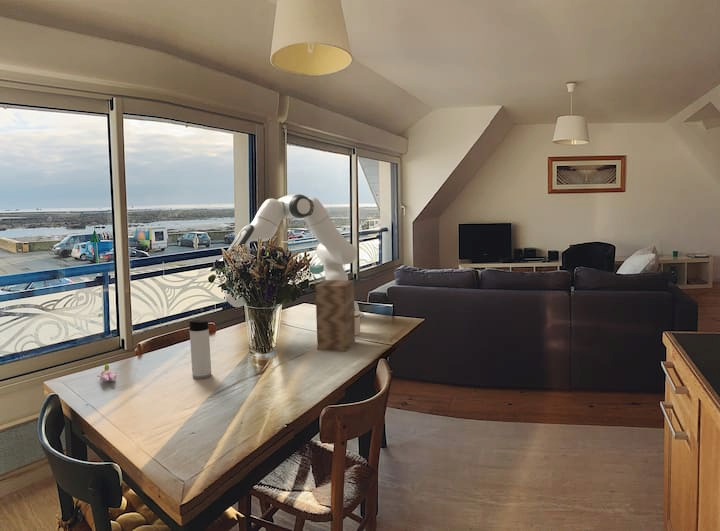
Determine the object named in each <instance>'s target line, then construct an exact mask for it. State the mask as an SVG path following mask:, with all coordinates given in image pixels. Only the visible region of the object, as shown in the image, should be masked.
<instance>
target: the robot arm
mask: <svg viewBox="0 0 720 531" xmlns="http://www.w3.org/2000/svg"><path fill="white" fill-rule="evenodd" d="M254 216H255V217H254V218H253V220H252V221H251V222H250V223H249V224H247V225H245V226H243V227H242V228H241V229H240V231H239V232H238V234H237V235H236V237H235V238H234V240H233V241H232V242H231V244H230V245H229V247H228V249H227V250H226V252H230V251H231V246H234V245H238V246H239V245H242V244H244V245H246V247H247V246H248V245H249V244H250V243H252V242H259V241H258V238H259V237H261V238H262V242H263V243H264V242H267V241H270V240H271V239H270V238H271V237H273V238H274V236H275V234H276V233H277V232H278V229H279V226H280V224H281V222H282V221H283V219H288V220H295V219H296V220H297V219H303V220H304V221H305V223H306V225H307V227H308V228H309V230H310V232H311V233H312V235H313V237H314V239H315V240H317V241H318V242H319V243H318V245H317V247H316V255H317V257H318V259H319V260H320V262H321V265H324V271H323V272H324V276H325V277H324V278H325V280H349V276H348V273H347V272H346V270H345V268H344V266H345V265H349V264H352V263H354V261H355V260H356V259H357V253H358V252H357V248H356V247H355V245H353V244H351V242H349V241H348V240H347V239H346V238H345V237H344V236H343V234H342V233H341V232H340V231H339V230H338V229H337V227H336V225H335V224H334V222H333V220H332V219H331V217H330V215H329V214H328V212H327V210H326V208H325V206H324V205H323V204H322V202H320V200H319V199H318V198H317V197H315V196H310V197H307V196H306V195H304V194H301V193H299V194H295V193H294V194H293V193H290V194H288V195H281V196H279V197H277V198H276V199H275V198H267V199H266V200H265V201H263V203H262V204H261V205H260V207H259V209H258V210H257V212H256V214H255V215H254ZM269 239H270V240H269ZM262 242H261V243H262ZM218 261H223V256H222V257H220V259H219V260H218ZM217 274H218V271H217V270H216V269H215V275H216V277H217V278H218V279H219V278H220V276H217ZM224 296H225V300H226V302H228V304H229V305H231V306H233V307H235V308H240V307H242V306H245V305H244V302H243V300H242V299H237V300H235V299H234V298H233V297H232V295H230V294H227V292H226V293H225V295H224ZM354 310H355V311H356V312H359V313H360V318H361V317H363V316H365V315H364V314H365V313H363V311H362V312H361V311H360V307H359V304H358V303H357V302H356V301H355V300H354Z"/></svg>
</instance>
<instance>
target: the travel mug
mask: <svg viewBox="0 0 720 531" xmlns="http://www.w3.org/2000/svg"><path fill="white" fill-rule="evenodd" d="M188 324H189V341H190V343H189V344H190V355H191V356H190V357H191V371H192V375H191V376H192V378H193V379H195V380H203V379H208V378H210V377H211V376H212V360H211V346H210V345H211V344H210V328H209V327H210V326H209V320H200V319H199V320H197V319H196V320H190V321H189V322H188Z"/></svg>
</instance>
